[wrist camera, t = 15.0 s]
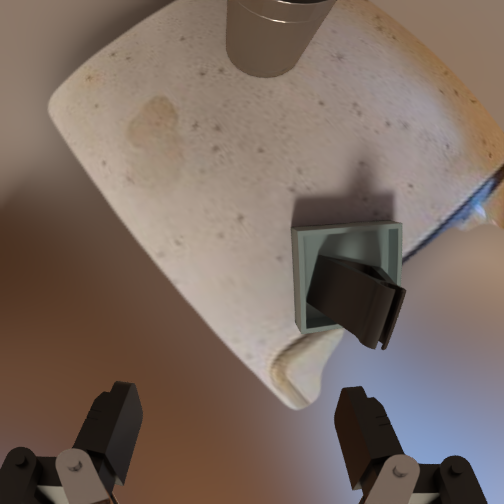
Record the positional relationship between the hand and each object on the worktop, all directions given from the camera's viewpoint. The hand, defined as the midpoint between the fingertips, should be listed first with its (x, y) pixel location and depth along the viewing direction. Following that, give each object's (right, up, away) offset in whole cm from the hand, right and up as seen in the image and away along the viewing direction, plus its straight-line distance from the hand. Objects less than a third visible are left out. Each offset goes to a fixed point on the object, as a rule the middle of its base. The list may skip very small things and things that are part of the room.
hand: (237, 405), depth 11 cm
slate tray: (+12, +3, +28) cm, 31 cm away
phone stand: (+12, +2, +27) cm, 30 cm away
